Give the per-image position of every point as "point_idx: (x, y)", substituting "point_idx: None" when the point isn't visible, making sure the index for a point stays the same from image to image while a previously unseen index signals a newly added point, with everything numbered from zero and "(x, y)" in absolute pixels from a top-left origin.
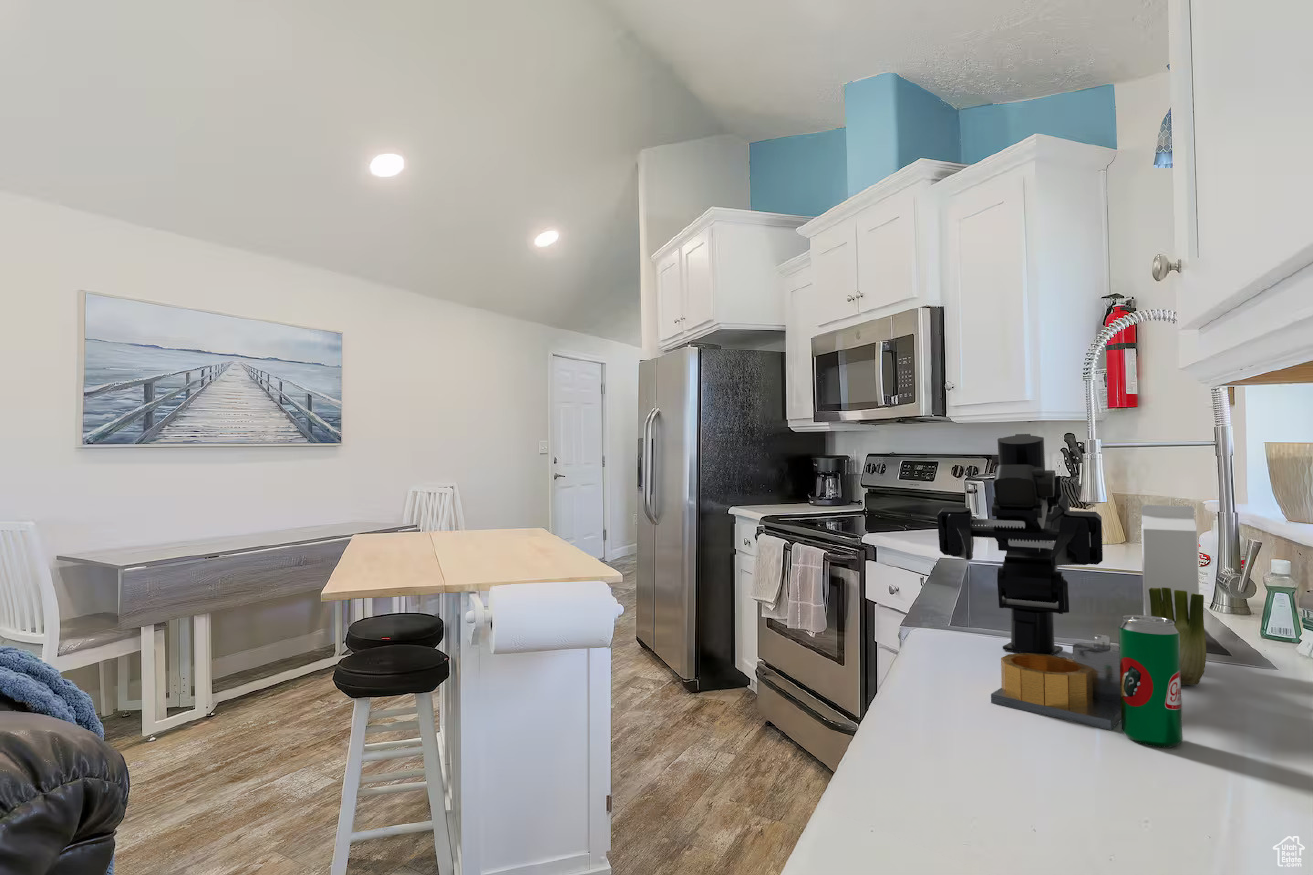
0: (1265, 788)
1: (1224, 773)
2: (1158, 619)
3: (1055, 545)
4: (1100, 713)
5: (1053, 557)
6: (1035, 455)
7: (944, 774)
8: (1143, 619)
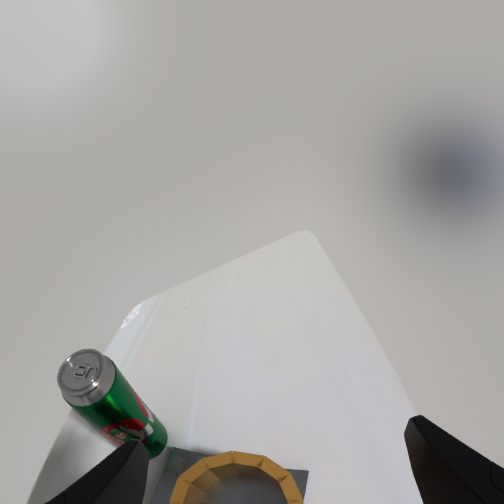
0: None
1: None
2: (67, 378)
3: (100, 485)
4: (180, 464)
5: (134, 439)
6: None
7: (292, 299)
8: (86, 365)
